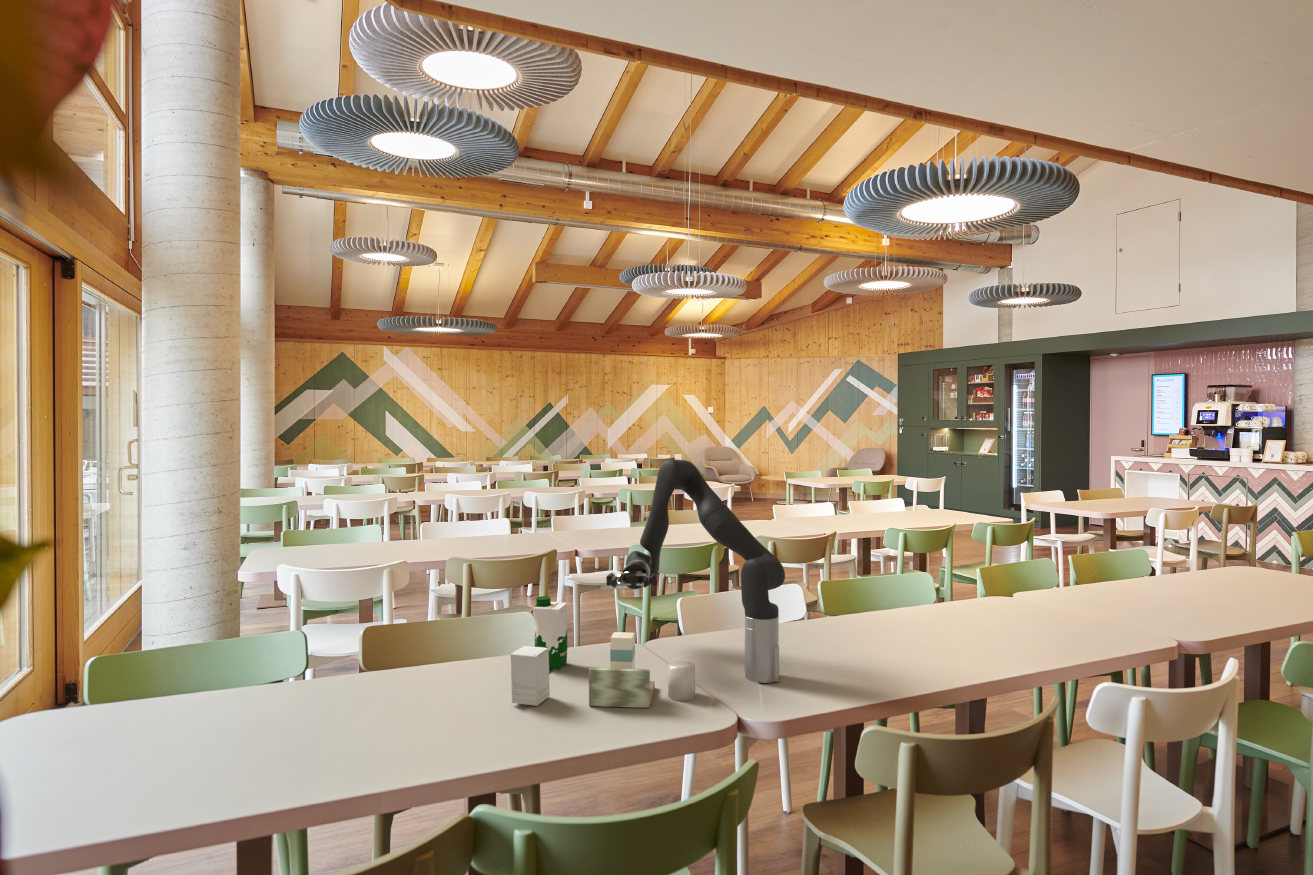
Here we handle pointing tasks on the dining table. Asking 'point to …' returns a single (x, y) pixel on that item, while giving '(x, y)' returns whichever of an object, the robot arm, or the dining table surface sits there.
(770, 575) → the robot arm
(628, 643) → the oat carton
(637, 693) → the display bay
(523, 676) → the supplement box
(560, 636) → the milk carton
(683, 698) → the white tapered tumbler
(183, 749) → the dining table surface
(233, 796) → the dining table surface
